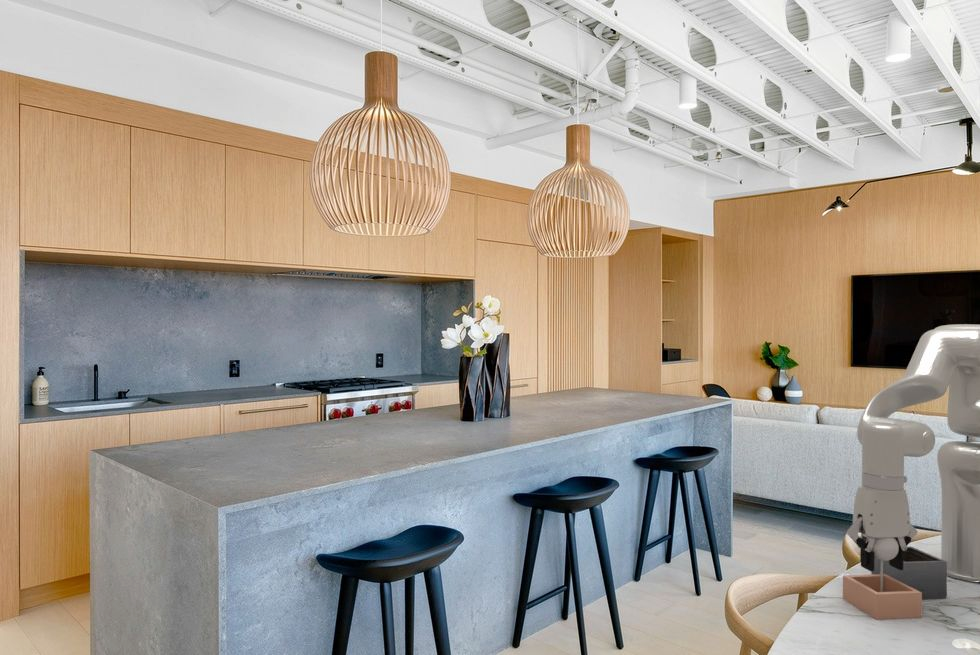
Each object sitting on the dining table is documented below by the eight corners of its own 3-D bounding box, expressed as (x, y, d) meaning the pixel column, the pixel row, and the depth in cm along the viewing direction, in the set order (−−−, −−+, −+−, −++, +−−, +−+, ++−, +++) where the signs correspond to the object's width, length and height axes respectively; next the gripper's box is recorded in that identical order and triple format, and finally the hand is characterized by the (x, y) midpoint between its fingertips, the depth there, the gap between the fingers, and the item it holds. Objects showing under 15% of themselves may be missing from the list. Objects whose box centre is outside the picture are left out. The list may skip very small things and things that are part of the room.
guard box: (910, 580, 148) (911, 546, 148) (946, 598, 138) (946, 561, 139) (871, 582, 147) (871, 547, 147) (904, 600, 137) (905, 563, 137)
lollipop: (892, 612, 129) (893, 538, 129) (860, 602, 134) (861, 531, 134) (902, 604, 133) (903, 532, 133) (871, 595, 138) (871, 525, 138)
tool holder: (885, 597, 139) (885, 574, 139) (921, 617, 129) (921, 592, 129) (842, 598, 138) (843, 575, 138) (876, 619, 128) (876, 594, 128)
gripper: (906, 477, 138) (905, 560, 138) (832, 478, 136) (831, 563, 136) (934, 485, 131) (933, 573, 131) (857, 487, 129) (856, 576, 129)
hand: (881, 567), depth 133 cm, fingers closed on lollipop, 5 cm apart
